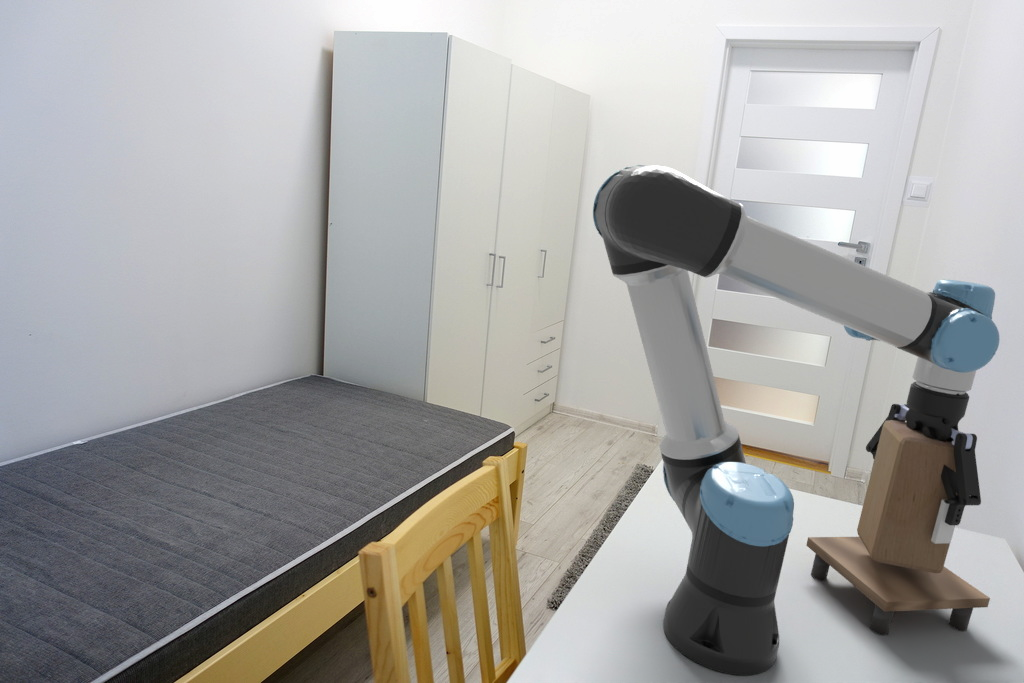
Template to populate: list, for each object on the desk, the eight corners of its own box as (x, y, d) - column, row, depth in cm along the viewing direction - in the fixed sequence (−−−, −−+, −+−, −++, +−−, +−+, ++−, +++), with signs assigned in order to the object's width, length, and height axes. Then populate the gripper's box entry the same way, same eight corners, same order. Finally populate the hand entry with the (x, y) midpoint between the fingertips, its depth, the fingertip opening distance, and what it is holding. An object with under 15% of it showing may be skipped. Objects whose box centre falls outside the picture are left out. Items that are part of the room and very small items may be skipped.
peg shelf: (877, 639, 101) (886, 602, 100) (800, 569, 118) (808, 537, 117) (979, 634, 105) (990, 598, 104) (891, 567, 122) (899, 536, 121)
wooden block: (943, 577, 104) (979, 450, 100) (871, 563, 106) (903, 438, 102) (919, 545, 114) (951, 428, 109) (853, 532, 116) (882, 416, 111)
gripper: (1038, 416, 93) (995, 562, 98) (900, 364, 116) (870, 484, 121) (992, 415, 91) (951, 564, 96) (861, 362, 115) (832, 484, 119)
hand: (906, 520), depth 109 cm, fingers open, 13 cm apart
